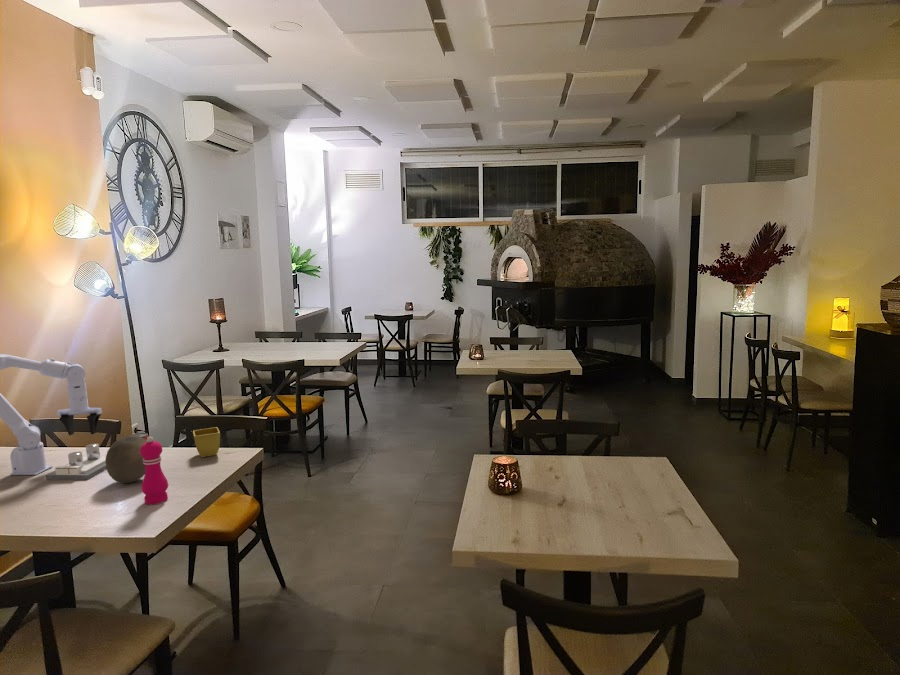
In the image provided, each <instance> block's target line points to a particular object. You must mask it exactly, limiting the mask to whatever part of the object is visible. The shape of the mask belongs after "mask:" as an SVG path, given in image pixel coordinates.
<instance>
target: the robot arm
mask: <svg viewBox="0 0 900 675" xmlns="http://www.w3.org/2000/svg"><path fill="white" fill-rule="evenodd" d="M11 367H12V368H19V369H23V370H24V369H26V370H32V371H38V372H39V373H40V374H41V375H42V376H45V377H52V378H57V379H61V380H62V379H67V386H66V387H67V396H68V404H69V408H64V409H63V408H62V409H59V410H56V415H57V416H58V417H59V418H58V419H59V421H60V422H61V423H62V424H63V426H64V428H65V430H66V432H67V433H68V434H67V435H68V436H72V435H74V434H75V427H74V418H75V416H77V415H78V416H79V415H87V416H86V420H87V422H88V426H89V432H90V435H94V434H96V432H97V428H98V422H99V420H100V417H101V415H102V414H103V408H102V407H90V406H89V401H88V390H87V384H86V379H85V377H86V372H85V369H84V367H83V366H82V365H81V364H78V363H76V362H71V361H67V362H63V361H59V360H56V358H50V359H49V358H45V359H44V360H42V361H40V360H34V359H29V358H25V357H21V356H16V355H11V354H7V353H0V371H1V370H4V369H8V368H11ZM0 418H1V420H2V421H3V422H4V424H6V425H7V426H8V427H9V429H10V431H11V432H12V433H13V436H15V437H16V439H17V443H18V446H16V447H14V448H13V449H12V450H11V452H10V463H11V464H10V465H11V471H12V472H11V473H10V475H11V476H15V475H16V476H17V475H18V476H20V475H21V476H30V475H31V476H36V475H39V474H41V473H42V472H44V471H47V470H49V469H52V467H53V465H47V464H46V456H45V448H44V443H43V442H42V441H41V432H42V431H41V430H40V428H39V427H38V426H36V425H34V424H32V423H30V422H29V421H28V420H27V419H26V418H24V417H23V416H22V414H21V413H20V412H19V411H18V410H17V409H16V408H15V407H14V406H13V404H11V403H10V402H9V400H8V399H7V398H6V397H5V396H4V395H3V394H2V393H1V392H0Z"/></svg>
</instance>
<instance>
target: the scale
mask: <svg viewBox="0 0 900 675" xmlns="http://www.w3.org/2000/svg"><path fill="white" fill-rule="evenodd" d="M82 458H83V466H84V467H82V468H81V466H69V463H67V464H65V465H57V466H55V467H54V470H53V471H51V472H50V473H49V472H48V473H47V474H45V479H46V480H90V479H92V478H93V477H95V475H96V476H97V475H99V474H101V473H103V472H105V471H107V468H106V461H105V460H106V456H100V459H97V460H93V461H88V460H87V456H82ZM102 471H103V472H102ZM100 472H101V473H100Z"/></svg>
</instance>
